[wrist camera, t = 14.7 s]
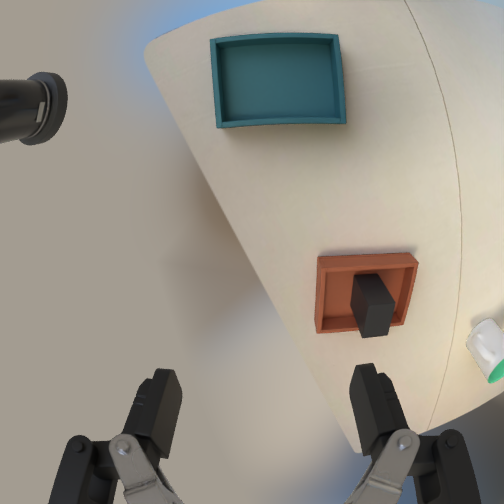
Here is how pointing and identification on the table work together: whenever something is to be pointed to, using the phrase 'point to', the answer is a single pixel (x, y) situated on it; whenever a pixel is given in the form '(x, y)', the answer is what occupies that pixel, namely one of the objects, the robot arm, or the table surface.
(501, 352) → the mug
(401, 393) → the table surface
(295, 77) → the teal bin
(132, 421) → the robot arm
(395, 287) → the terracotta bin
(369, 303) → the block
